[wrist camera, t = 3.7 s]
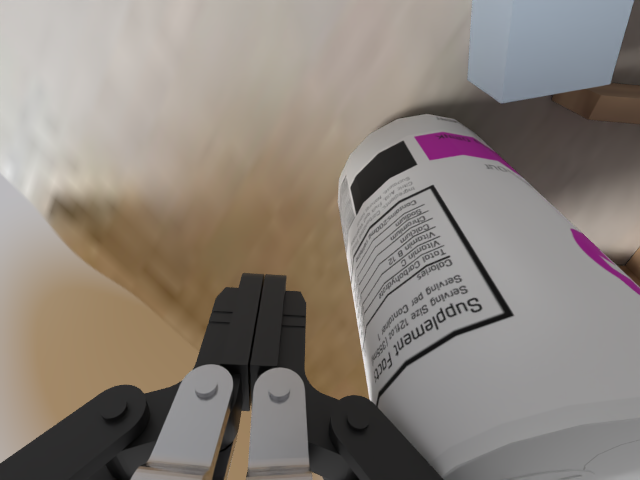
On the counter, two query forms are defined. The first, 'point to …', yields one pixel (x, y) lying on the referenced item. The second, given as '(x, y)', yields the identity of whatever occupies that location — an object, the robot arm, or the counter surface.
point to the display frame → (613, 107)
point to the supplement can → (487, 313)
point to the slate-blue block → (544, 45)
